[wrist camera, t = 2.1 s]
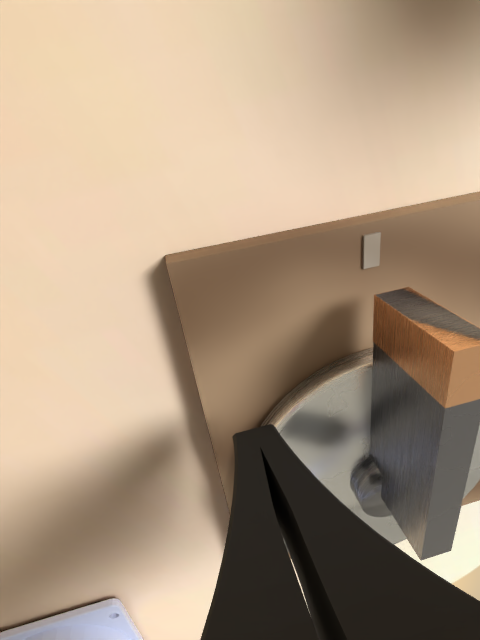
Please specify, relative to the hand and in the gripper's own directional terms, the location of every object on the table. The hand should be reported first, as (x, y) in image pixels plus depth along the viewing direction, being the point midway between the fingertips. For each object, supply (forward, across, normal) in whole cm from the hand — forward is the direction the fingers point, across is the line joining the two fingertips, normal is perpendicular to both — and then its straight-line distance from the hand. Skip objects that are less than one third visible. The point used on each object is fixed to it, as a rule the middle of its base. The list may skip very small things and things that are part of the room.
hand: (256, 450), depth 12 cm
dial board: (+4, -6, +3) cm, 8 cm away
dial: (+3, -5, +3) cm, 7 cm away
